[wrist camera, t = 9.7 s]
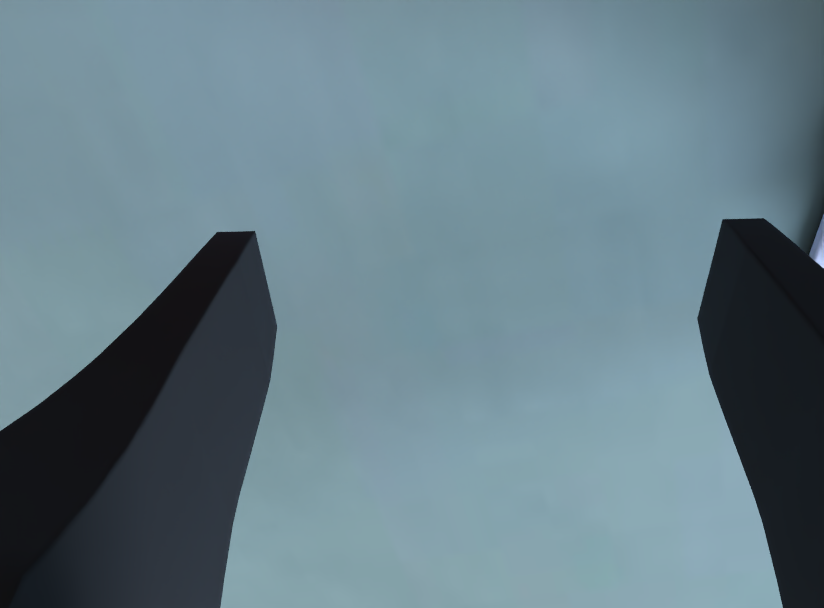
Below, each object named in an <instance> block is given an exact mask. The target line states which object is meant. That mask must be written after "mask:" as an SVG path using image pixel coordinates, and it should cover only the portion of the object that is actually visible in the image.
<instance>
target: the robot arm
mask: <svg viewBox="0 0 824 608" xmlns="http://www.w3.org/2000/svg"><path fill="white" fill-rule="evenodd" d="M698 324H699V329H700V334H701V339H702V344H703V349H704V353H705V358H706V362H707V366H708V371H709V375H710V378H711V381H712V384H713V386H714V389H715V392H716V395H717V398H718V400H719V403H720V406H721V409H722V411H723V414H724V417H725V419H726V422H727V425H728V428H729V430H730V433H731V436H732V438H733V441H734V444H735V446H736V449H737V452H738V454H739V457H740V460H741V462H742V465H743V468H744V470H745V473H746V476H747V478H748V481H749V484H750V486H751V489H752V492H753V494H754V497H755V501H756V504H757V507H758V510H759V513H760V516H761V519H762V522H763V526H764V530H765V534H766V538H767V542H768V546H769V550H770V554H771V558H772V562H773V566H774V570H775V574H776V578H777V583H778V587H779V592H780V596H781V601H782V605H783V608H824V215H823V217H822V220H821V223H820V226H819V229H818V231H817V234H816V237H815V240H814V243H813V245H812V248H811V251H810V254H809V256H808V255H807V254H806V253H805V252H804V251H803V250H801V249H800V248H799V247H798V246H797V245H796V244H795V243H793V242H792V241H791V240H790V239H789V238H788V237H786V236H785V235H784V234H783V233H782V232H780V231H779V230H778V229H777V228H776V227H774V226H773V225H772V224H771V223H769V222H768V221H767V220H765V219H764V218H761V219H723V220H722V224H721V228H720V232H719V236H718V240H717V244H716V248H715V252H714V256H713V260H712V264H711V268H710V272H709V275H708V279H707V283H706V287H705V291H704V295H703V299H702V303H701V307H700V311H699V315H698ZM276 331H277V324H276V319H275V315H274V311H273V307H272V302H271V298H270V294H269V289H268V285H267V281H266V276H265V272H264V268H263V263H262V259H261V255H260V251H259V246H258V242H257V238H256V233H255V231H245V232H217V233H216V234H215V235H214V236H213V237H212V238H211V239H210V240H209V241H208V243H207V244H206V245H205V246H204V247H203V248H202V249H201V250H200V251H199V252H198V253H197V254H196V256H195V257H194V258H193V259H192V260H191V261H190V262H189V263H188V265H187V266H186V267H185V268H184V269H183V270H182V271H181V272H180V273H179V274H178V276H177V277H176V278H175V279H174V280H173V281H172V282H171V283H170V284H169V286H168V287H167V288H166V289H165V290H164V291H163V292H162V293H161V294H160V295H159V296H158V297H157V298H156V299H155V300H154V301H153V303H152V304H151V305H150V306H149V307H148V308H147V309H146V310H145V311H144V312H143V313H142V314H141V315H140V316H139V317H138V318H137V319H136V320H135V321H134V322H133V323H132V324H131V325H130V326H129V327H128V328H127V329H126V330H125V331H124V332H123V333H122V334H121V335H120V336H119V337H118V338H117V339H115V340H114V341H113V342H112V343H111V344H110V345H109V346H108V347H107V348H106V349H105V350H104V351H103V352H102V353H101V354H100V355H99V356H98V357H96V358H95V359H94V360H93V361H92V362H91V363H90V364H89V365H87V366H86V367H85V368H84V369H83V370H81V371H80V372H79V373H78V374H77V375H76V376H74V377H73V378H72V379H71V380H69V381H68V382H67V383H66V384H64V385H63V386H62V387H61V388H59V389H58V390H57V391H56V392H54V393H53V394H52V395H50V396H49V397H48V398H47V399H45V400H44V401H43V402H41V403H40V404H39V405H37V406H36V407H35V408H33V409H32V410H30V411H29V412H27V413H26V414H24V415H23V416H22V417H20V418H19V419H17V420H16V421H14V422H13V423H11V424H10V425H9V426H7V427H6V428H4V429H3V430H1V431H0V608H220V605H221V598H222V591H223V583H224V577H225V570H226V564H227V558H228V551H229V545H230V539H231V532H232V526H233V521H234V517H235V512H236V508H237V503H238V499H239V495H240V491H241V487H242V484H243V480H244V476H245V473H246V469H247V465H248V462H249V458H250V454H251V451H252V447H253V443H254V440H255V436H256V432H257V429H258V425H259V421H260V417H261V414H262V410H263V406H264V402H265V399H266V395H267V391H268V387H269V383H270V378H271V370H272V363H273V356H274V348H275V339H276Z"/></svg>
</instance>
